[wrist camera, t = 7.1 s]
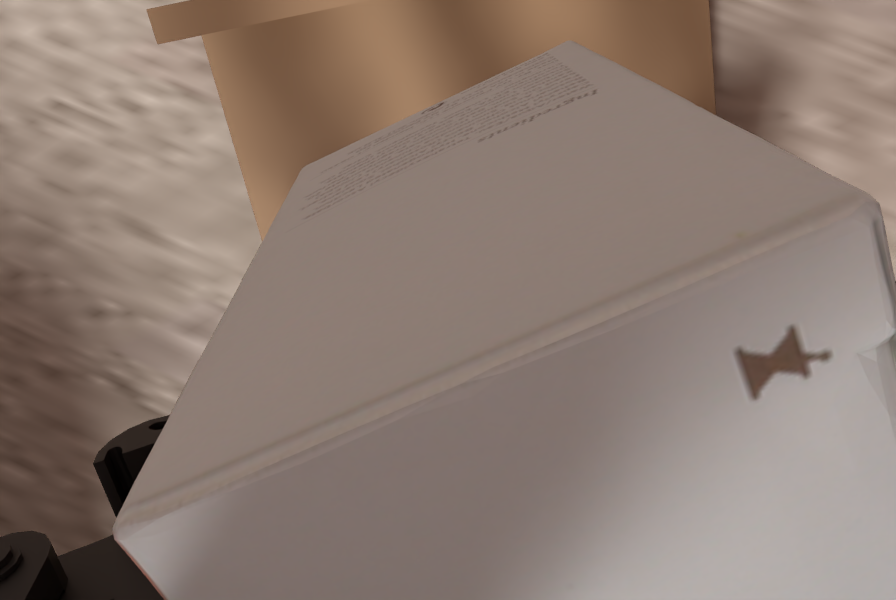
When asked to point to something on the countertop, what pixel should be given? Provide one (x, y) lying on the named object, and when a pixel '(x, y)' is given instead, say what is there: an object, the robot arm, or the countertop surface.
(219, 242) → the countertop surface
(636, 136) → the small box
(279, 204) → the rack
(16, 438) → the countertop surface
